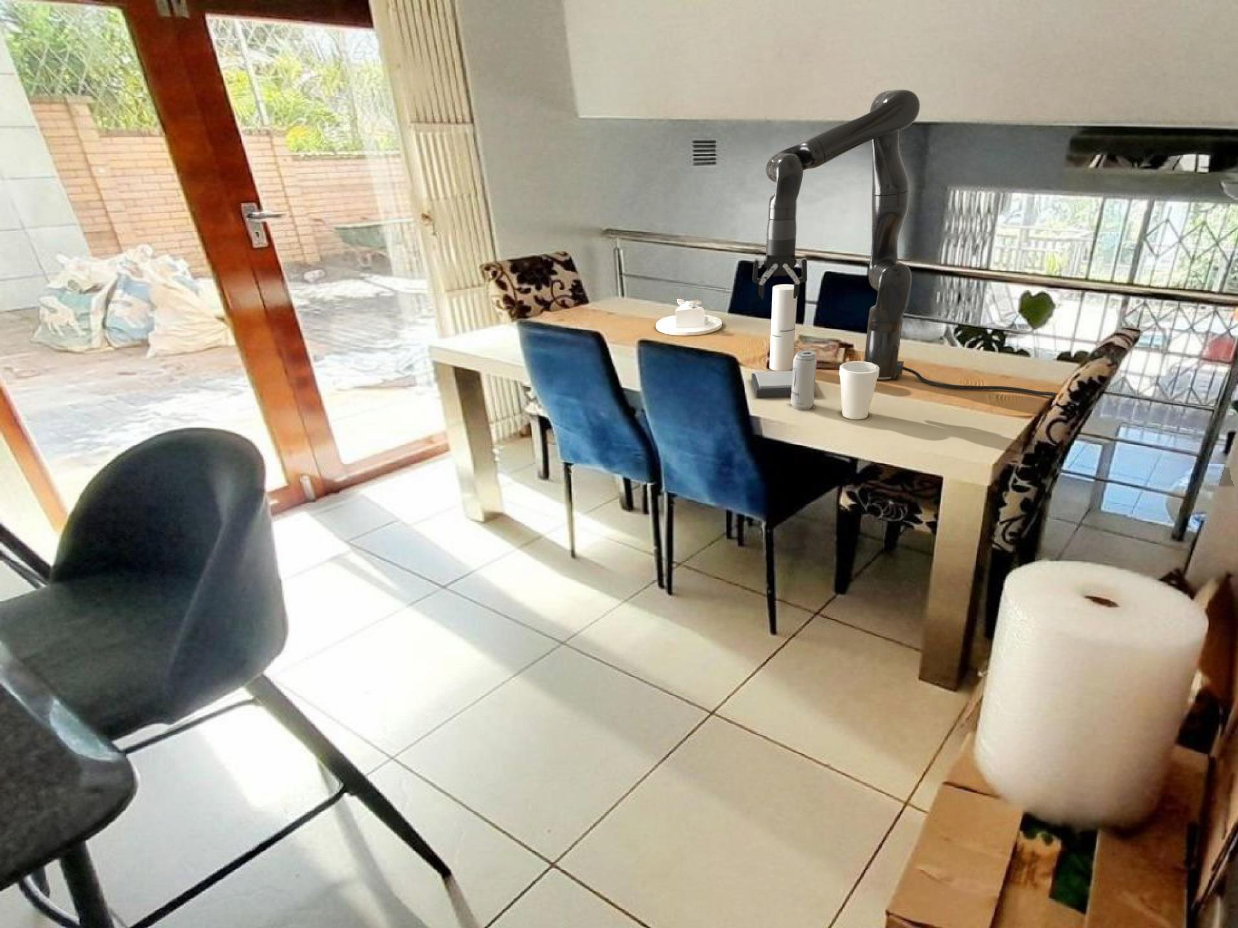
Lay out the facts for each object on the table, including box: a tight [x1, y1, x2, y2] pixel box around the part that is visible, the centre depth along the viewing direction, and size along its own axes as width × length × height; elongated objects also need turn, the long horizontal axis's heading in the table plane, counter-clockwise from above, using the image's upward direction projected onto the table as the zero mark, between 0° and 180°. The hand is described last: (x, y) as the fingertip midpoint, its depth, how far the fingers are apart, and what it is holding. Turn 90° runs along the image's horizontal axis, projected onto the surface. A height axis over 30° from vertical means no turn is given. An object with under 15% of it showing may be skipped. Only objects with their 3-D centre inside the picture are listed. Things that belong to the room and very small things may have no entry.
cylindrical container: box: [769, 283, 798, 371], centre depth 214 cm, size 7×7×25 cm
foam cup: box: [839, 360, 879, 420], centre depth 181 cm, size 10×9×13 cm
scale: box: [750, 370, 816, 399], centre depth 203 cm, size 16×14×3 cm
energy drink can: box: [790, 349, 818, 411], centre depth 187 cm, size 6×6×15 cm
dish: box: [655, 298, 723, 337], centre depth 264 cm, size 25×25×11 cm
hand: (778, 298), depth 191 cm, fingers open, 8 cm apart
